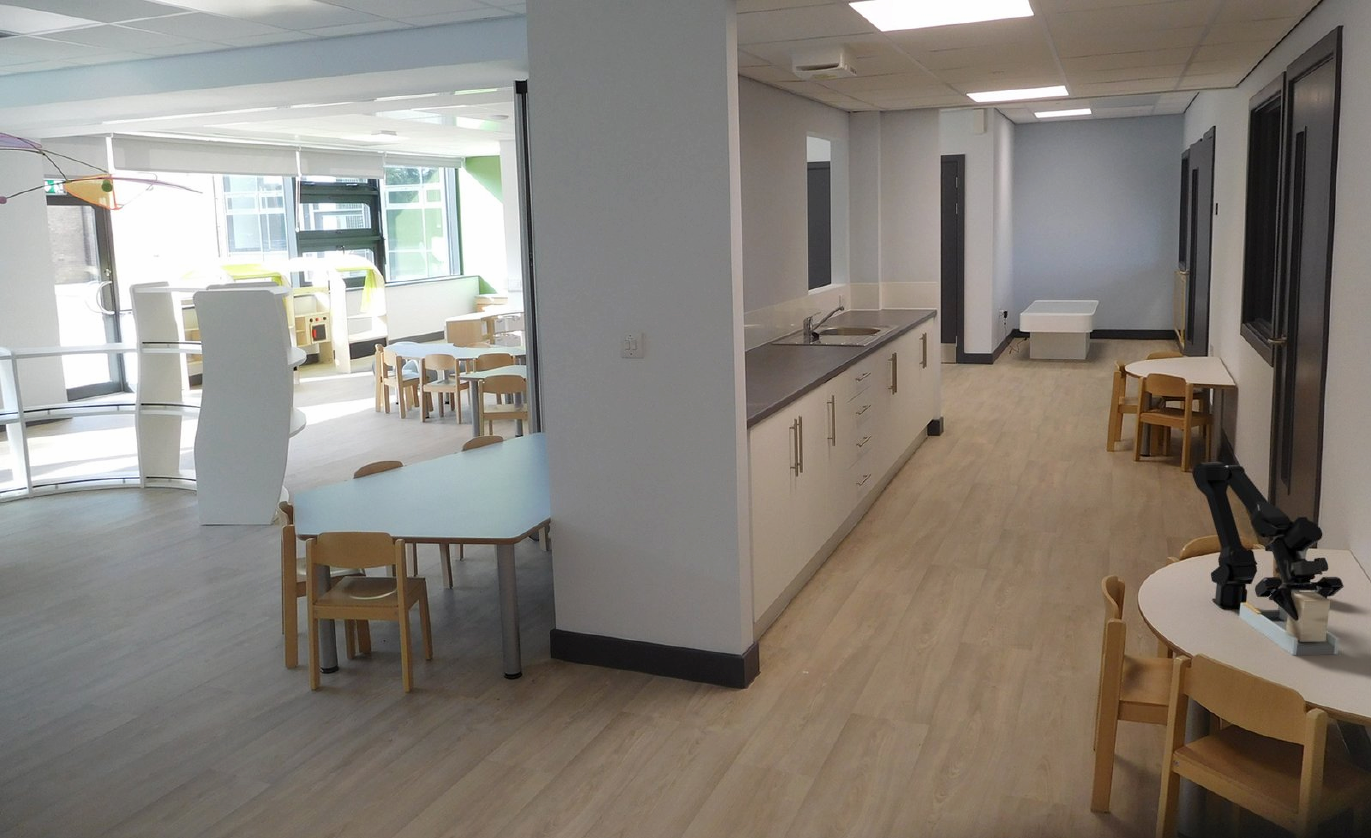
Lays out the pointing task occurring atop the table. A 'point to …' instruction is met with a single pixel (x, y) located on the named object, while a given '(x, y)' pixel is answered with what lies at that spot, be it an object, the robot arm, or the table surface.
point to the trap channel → (1285, 632)
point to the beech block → (1309, 616)
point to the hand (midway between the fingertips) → (1310, 619)
